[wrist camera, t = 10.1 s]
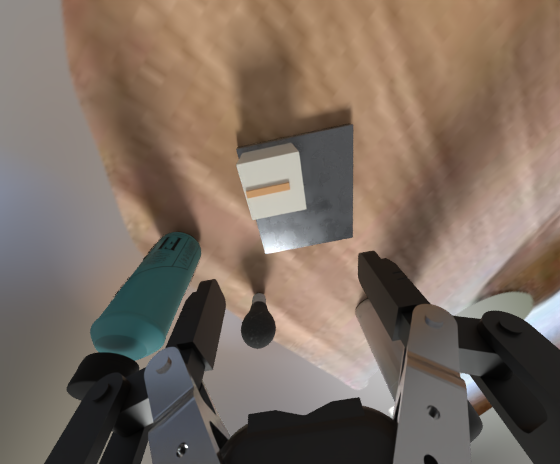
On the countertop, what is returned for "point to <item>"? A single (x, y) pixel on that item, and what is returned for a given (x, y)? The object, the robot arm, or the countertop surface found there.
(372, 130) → the countertop surface
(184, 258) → the beverage bottle
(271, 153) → the white box
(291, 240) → the plate
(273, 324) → the light bulb
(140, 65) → the countertop surface
